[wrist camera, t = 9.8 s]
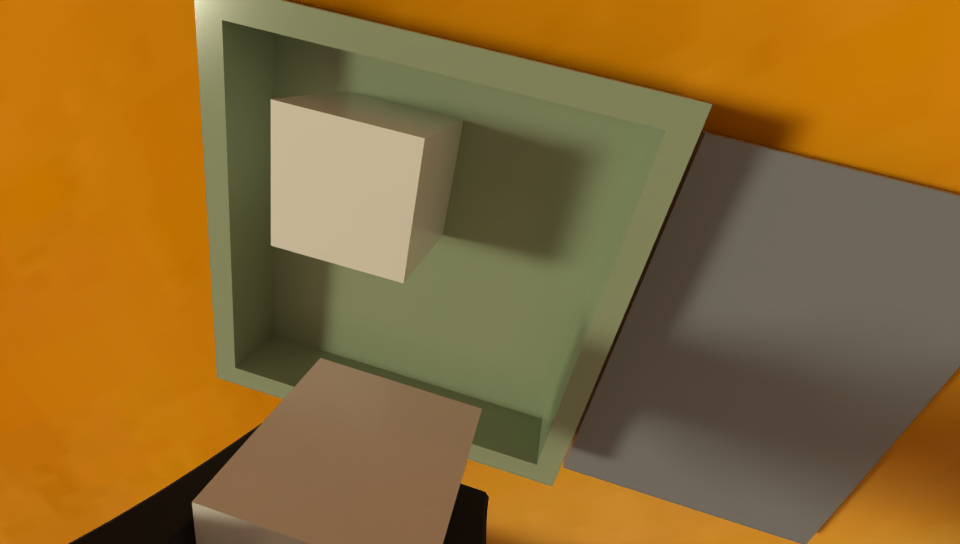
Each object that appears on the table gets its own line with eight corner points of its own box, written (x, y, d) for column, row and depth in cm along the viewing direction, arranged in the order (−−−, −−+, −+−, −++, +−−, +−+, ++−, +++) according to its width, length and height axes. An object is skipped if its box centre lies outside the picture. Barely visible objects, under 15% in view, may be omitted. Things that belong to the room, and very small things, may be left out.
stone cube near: (450, 519, 12) (396, 706, 9) (312, 472, 13) (205, 633, 9) (482, 408, 10) (430, 587, 7) (320, 357, 11) (191, 501, 7)
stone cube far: (442, 235, 16) (403, 283, 13) (337, 206, 17) (270, 245, 13) (463, 119, 14) (424, 138, 11) (345, 90, 15) (270, 99, 11)
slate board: (797, 527, 19) (805, 545, 18) (563, 453, 20) (563, 467, 19) (1053, 217, 13) (1081, 226, 12) (698, 129, 14) (705, 133, 13)
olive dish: (556, 428, 19) (551, 486, 17) (264, 337, 21) (217, 377, 18) (686, 96, 13) (712, 104, 11) (263, -6, 15) (193, -21, 12)
